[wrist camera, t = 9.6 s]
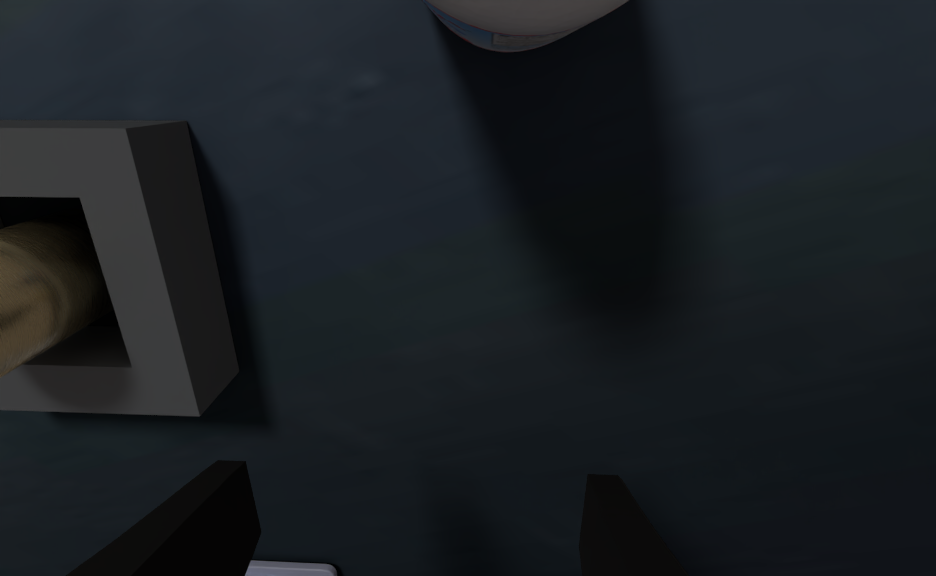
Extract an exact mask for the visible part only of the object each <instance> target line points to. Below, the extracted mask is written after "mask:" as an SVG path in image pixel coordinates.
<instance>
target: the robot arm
mask: <svg viewBox="0 0 936 576" xmlns="http://www.w3.org/2000/svg"><path fill="white" fill-rule="evenodd" d="M260 534H261V528H260V524H259V519H258V515H257V510H256V506H255V501H254V497H253V492H252V488H251V483H250V479H249V475H248V470H247V466H246V461H222V460H218V461H216V462H215V463H214V464H212V465H211V466H209V467H208V468H207V469H205V470H204V471H203V472H202V473H200V474H199V475H198V476H196V477H195V478H194V479H192V480H191V481H190V482H189V483H187V484H186V485H185V486H184V487H182V488H181V489H180V490H179V491H177V492H176V493H175V494H173V495H172V496H171V497H170V498H168V499H167V500H166V501H165V502H163V503H162V504H161V505H160V506H158V507H157V508H156V509H154V510H153V511H152V512H151V513H149V514H148V515H147V516H145V517H144V518H143V519H141V520H140V521H139V522H138V523H136V524H135V525H134V526H132V527H131V528H130V529H129V530H127V531H126V532H125V533H123V534H122V535H121V536H120V537H118V538H117V539H116V540H114V541H113V542H112V543H110V544H109V545H107V546H106V547H105V548H103V549H102V550H101V551H99V552H98V553H96V554H95V555H94V556H92V557H91V558H89V559H88V560H87V561H85V562H84V563H83V564H81V565H80V566H78V567H77V568H76V569H74V570H73V571H72V572H70V573H69V574H67V575H66V576H337V571H336V569H335V568H334V567H333V566H332V565H329V564H318V563H297V562H276V561H255V560H251V559H252V556H253V554H254V551H255V548H256V545H257V543H258V540H259V537H260ZM579 551H580V559H581V568H582V576H689V575H688V574H687V572H686V571H685V570H684V568H683V567H682V566H681V564H680V563H679V562H678V560H677V559H676V558H675V556H674V555H673V554H672V552H671V551H670V550H669V548H668V547H667V546H666V544H665V543H664V541H663V540H662V539H661V537H660V536H659V534H658V533H657V532H656V530H655V529H654V527H653V526H652V524H651V523H650V521H649V520H648V519H647V517H646V516H645V514H644V513H643V511H642V510H641V508H640V507H639V505H638V504H637V502H636V501H635V499H634V498H633V496H632V494H631V493H630V491H629V490H628V488H627V487H626V485H625V483H624V482H623V480H622V479H621V478H620V477H619V476H618V475H595V474H588V476H587V484H586V492H585V500H584V509H583V517H582V525H581V533H580V542H579Z"/></svg>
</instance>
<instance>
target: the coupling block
mask: <svg viewBox="0 0 936 576" xmlns="http://www.w3.org/2000/svg"><path fill="white" fill-rule="evenodd" d="M0 197H79V198H80V201H81V204H82V207H83V210H84V214H85V217H86V220H87V223H88V227H89V230H90V233H91V236H92V239H93V243H94V246H95V249H96V252H97V256H98V259H99V262H100V265H101V269H102V272H103V275H104V278H105V281H106V285H107V288H108V291H109V294H110V298H111V301H112V304H113V307H114V311H115V314H116V317H117V320H118V324H119V327H117V326H86V327H84V328H82V329H81V330H79V331H77V332H76V333H74V334H72V335H71V336H69V337H67V338H66V339H64V340H62V341H61V342H59V343H57V344H56V345H54V346H52V347H51V348H49V349H47V350H46V351H44V352H42V353H41V354H39V355H37V356H36V357H34V358H32V359H31V360H29V361H27V362H26V363H24V364H22V365H21V366H19V367H17V368H16V369H14V370H12V371H11V372H9V373H7V374H6V375H4V376H2V377H1V378H0V410H19V411H49V412H80V413H110V414H140V415H170V416H201V415H202V414H203V412H204V411H205V410H206V409H207V408H208V407H209V406H210V404H211V403H212V402H213V401H214V400H215V399H216V398H217V397H218V395H219V394H220V393H221V392H222V391H223V390H224V389H225V387H226V386H227V385H228V384H229V383H230V382H231V381H232V379H233V378H234V377H235V376H236V375H237V374H238V373H239V367H238V362H237V358H236V353H235V348H234V344H233V339H232V334H231V329H230V325H229V320H228V315H227V310H226V306H225V301H224V296H223V291H222V287H221V282H220V277H219V273H218V268H217V263H216V258H215V254H214V249H213V244H212V239H211V235H210V230H209V225H208V221H207V216H206V211H205V206H204V202H203V197H202V192H201V187H200V183H199V178H198V173H197V169H196V164H195V159H194V154H193V150H192V145H191V140H190V135H189V131H188V126H187V121H140V120H0ZM3 228H4V225H3V223H2V220H1V218H0V229H3Z"/></svg>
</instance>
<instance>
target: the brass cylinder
mask: <svg viewBox="0 0 936 576" xmlns="http://www.w3.org/2000/svg"><path fill="white" fill-rule="evenodd" d="M113 310H114V307H113V304H112V301H111V298H110V294H109V291H108V288H107V285H106V281H105V278H104V275H103V272H102V269H101V265H100V262H99V259H98V256H97V252H96V249H95V246H94V243H93V239H92V236H91V233H90V230H89V227H88V223H87V220H86V217H85V214H84V210H82V209H67V210H63V211H59V212H56V213H53V214H49V215H46V216H43V217H39V218H36V219H33V220H29V221H26V222H23V223H19V224H16V225H13V226H9V227H6V228H3V229H0V378H1V377H2V376H4V375H6V374H7V373H9V372H11V371H12V370H14V369H16V368H17V367H19V366H21V365H22V364H24V363H26V362H27V361H29V360H31V359H32V358H34V357H36V356H37V355H39V354H41V353H42V352H44V351H46V350H47V349H49V348H51V347H52V346H54V345H56V344H57V343H59V342H61V341H62V340H64V339H66V338H67V337H69V336H71V335H72V334H74V333H76V332H77V331H79V330H81V329H82V328H84V327H86V326H87V325H89V324H91V323H92V322H94V321H96V320H97V319H99V318H101V317H103V316H104V315H106V314H108V313H109V312H111V311H113Z"/></svg>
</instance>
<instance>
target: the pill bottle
mask: <svg viewBox="0 0 936 576" xmlns="http://www.w3.org/2000/svg"><path fill="white" fill-rule="evenodd" d="M422 1H423V2H424V3H425V4H426V5H427V7H428V8H429V9H430V10H431V11H432V12H433V13H434V14H435V15H436V16H437V17H438V18H439V20H441V21H442V23H443V24H444V25H446V26H447V27H448V28H449V29H450V30H451V31H452V32H454V33H455V34H456V35H457V36H459V37H461V38H462V39H464V40H465V41H467V42H469V43H471V44H473V45H476V46H478V47H480V48H484V49H487V50H492V51H497V52H519V51H525V50H530V49H534V48H538V47H541V46H544V45H547V44H549V43H552V42H554V41H556V40H558V39H561V38H563V37H564V36H567V35H568V34H570V33H572V32H574V31H576V30H578V29H579V28H581V27H584V26H586V25H587V24H589V23H591V22H593V21H595V20H597V19H599V18H601V17H603V16H604V15H606V14H608V13H610V12H612V11H613V10H615V9H617V8H618V7H620V6H621V5H623V4H624V3H626V2H627V1H629V0H422Z"/></svg>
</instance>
